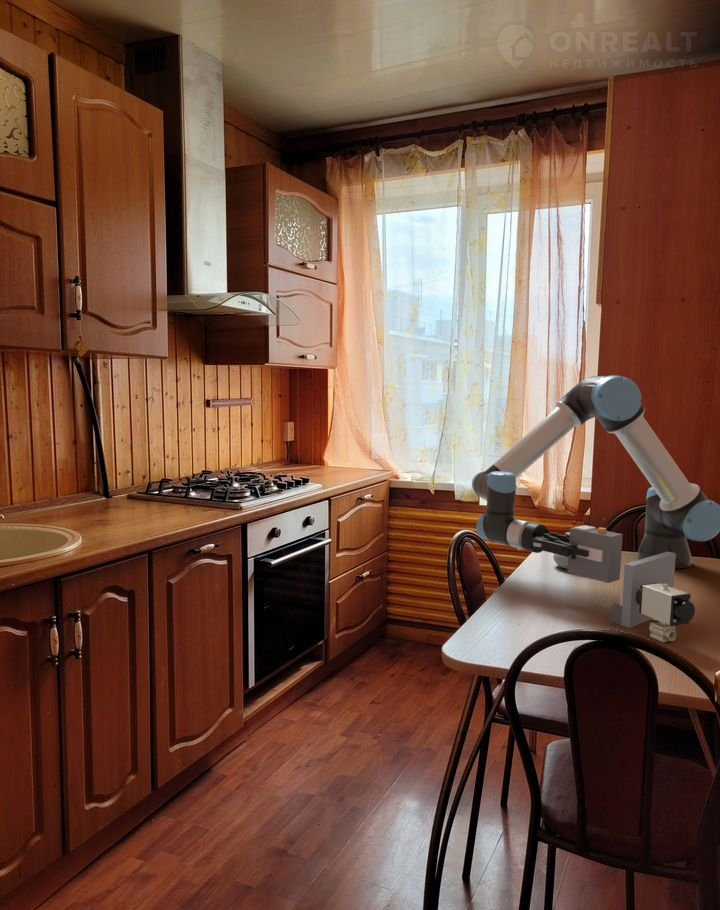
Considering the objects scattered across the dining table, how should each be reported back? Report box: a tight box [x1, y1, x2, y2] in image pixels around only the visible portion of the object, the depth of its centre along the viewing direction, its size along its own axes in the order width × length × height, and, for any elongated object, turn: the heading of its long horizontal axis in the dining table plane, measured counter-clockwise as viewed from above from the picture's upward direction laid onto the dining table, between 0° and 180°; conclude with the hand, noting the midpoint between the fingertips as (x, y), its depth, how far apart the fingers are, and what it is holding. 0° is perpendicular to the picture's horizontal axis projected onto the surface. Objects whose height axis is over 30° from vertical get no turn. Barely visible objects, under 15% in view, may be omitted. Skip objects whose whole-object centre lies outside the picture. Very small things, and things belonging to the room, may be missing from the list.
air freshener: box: [553, 531, 570, 570], centre depth 203 cm, size 11×8×10 cm
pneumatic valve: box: [636, 583, 696, 644], centre depth 147 cm, size 6×12×12 cm, turn 23°
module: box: [567, 524, 624, 584], centre depth 168 cm, size 5×11×12 cm, turn 39°
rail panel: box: [610, 552, 676, 629], centre depth 161 cm, size 19×4×14 cm, turn 129°
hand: (608, 554), depth 165 cm, fingers closed on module, 5 cm apart
